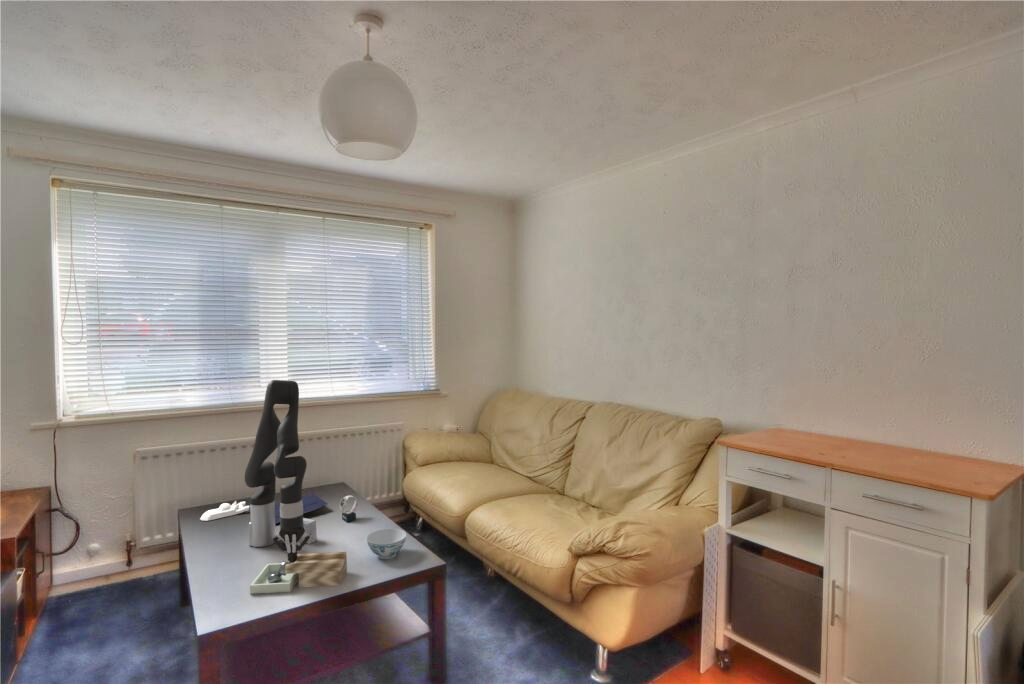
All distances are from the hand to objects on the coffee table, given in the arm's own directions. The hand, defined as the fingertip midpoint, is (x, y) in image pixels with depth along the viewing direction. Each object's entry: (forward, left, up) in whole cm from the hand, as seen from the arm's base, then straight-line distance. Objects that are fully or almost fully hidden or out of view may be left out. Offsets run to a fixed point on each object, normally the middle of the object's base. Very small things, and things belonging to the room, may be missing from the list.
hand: (292, 561), depth 186 cm
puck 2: (-2, 0, -2) cm, 3 cm away
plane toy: (-53, +71, -7) cm, 89 cm away
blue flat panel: (-23, +69, -7) cm, 73 cm away
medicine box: (-6, +35, -7) cm, 36 cm away
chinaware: (+30, +17, -7) cm, 35 cm away
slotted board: (+8, 0, -7) cm, 11 cm away
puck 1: (-6, 0, -4) cm, 7 cm away
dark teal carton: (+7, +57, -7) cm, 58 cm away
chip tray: (-5, 0, -7) cm, 8 cm away
